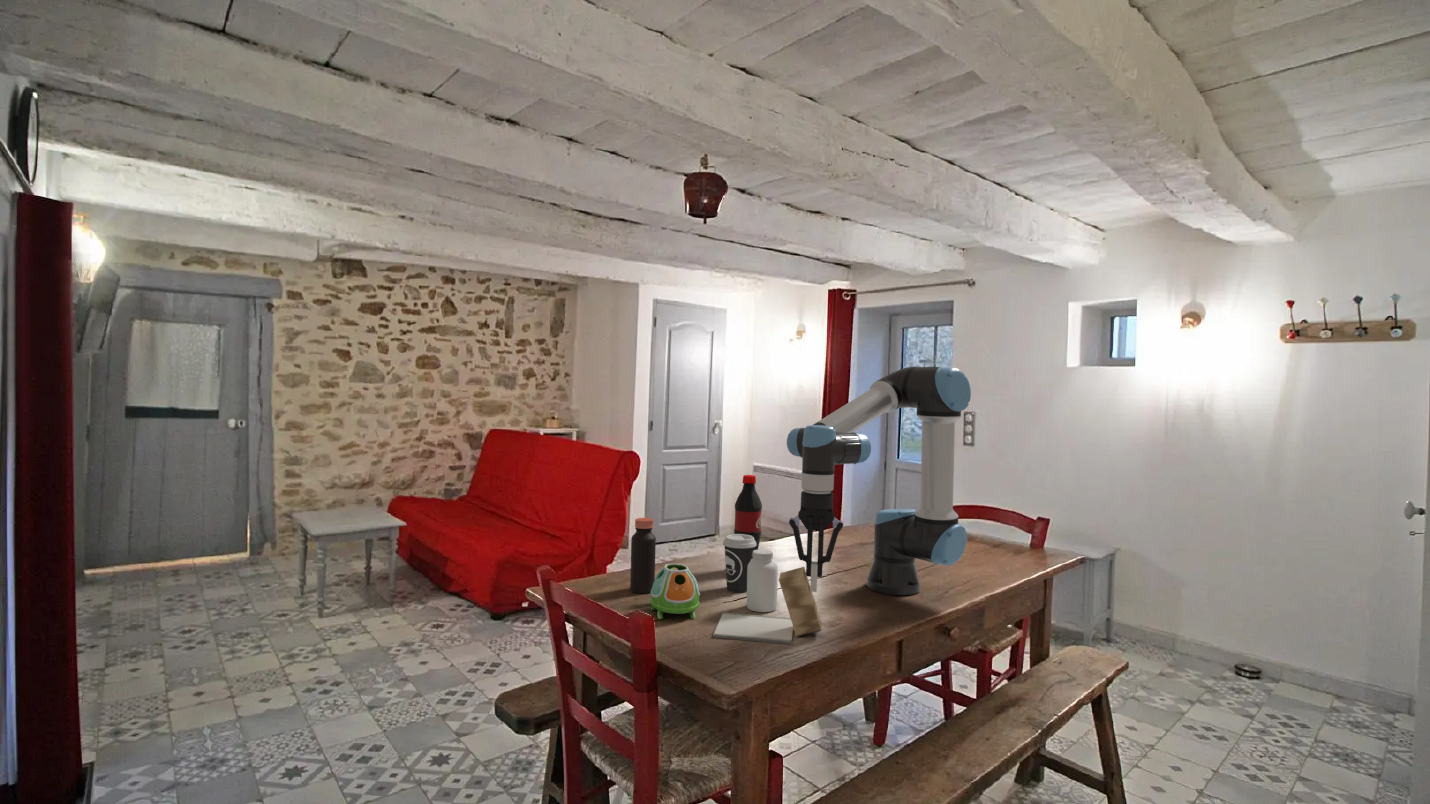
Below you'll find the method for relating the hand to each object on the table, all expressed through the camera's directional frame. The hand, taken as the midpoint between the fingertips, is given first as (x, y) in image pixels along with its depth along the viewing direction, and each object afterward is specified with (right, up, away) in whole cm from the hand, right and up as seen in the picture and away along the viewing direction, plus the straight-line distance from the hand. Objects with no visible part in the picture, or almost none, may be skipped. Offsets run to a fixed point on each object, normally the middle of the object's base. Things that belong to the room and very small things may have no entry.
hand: (813, 590), depth 172 cm
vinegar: (-44, -8, +31) cm, 54 cm away
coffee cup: (-17, -9, +34) cm, 39 cm away
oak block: (-1, -10, +1) cm, 10 cm away
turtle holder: (-34, -9, +14) cm, 38 cm away
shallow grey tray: (-14, -10, +3) cm, 17 cm away
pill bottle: (-11, -10, +18) cm, 24 cm away
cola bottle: (-14, -8, +54) cm, 56 cm away
